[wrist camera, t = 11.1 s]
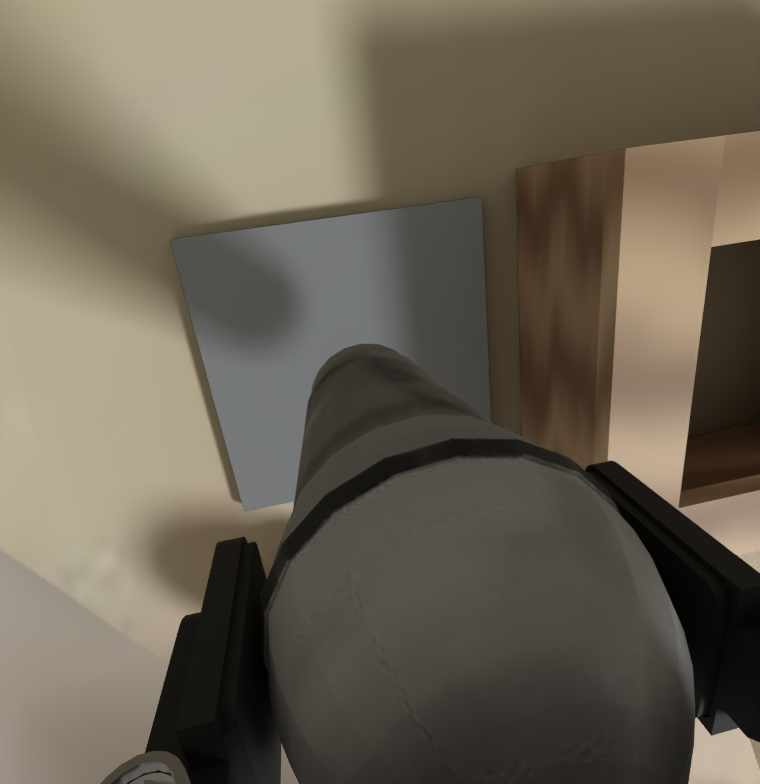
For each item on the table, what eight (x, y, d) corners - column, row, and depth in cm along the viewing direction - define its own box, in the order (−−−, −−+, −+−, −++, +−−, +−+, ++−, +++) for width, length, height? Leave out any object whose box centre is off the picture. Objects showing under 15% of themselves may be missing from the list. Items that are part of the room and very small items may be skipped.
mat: (488, 456, 28) (493, 461, 27) (245, 504, 26) (243, 511, 26) (477, 197, 23) (481, 197, 22) (172, 239, 21) (169, 239, 21)
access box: (784, 437, 31) (936, 507, 24) (522, 492, 29) (600, 588, 22) (849, 125, 25) (1089, 88, 17) (516, 169, 23) (625, 147, 15)
